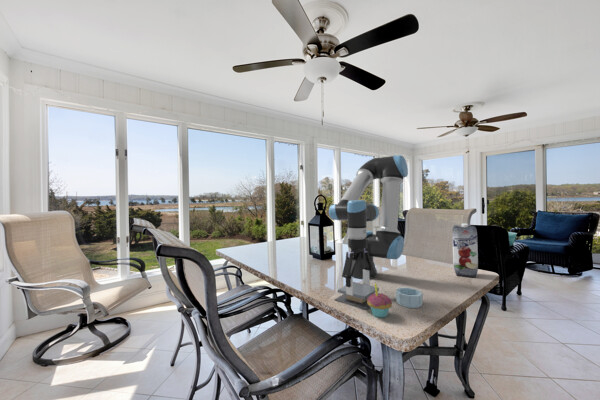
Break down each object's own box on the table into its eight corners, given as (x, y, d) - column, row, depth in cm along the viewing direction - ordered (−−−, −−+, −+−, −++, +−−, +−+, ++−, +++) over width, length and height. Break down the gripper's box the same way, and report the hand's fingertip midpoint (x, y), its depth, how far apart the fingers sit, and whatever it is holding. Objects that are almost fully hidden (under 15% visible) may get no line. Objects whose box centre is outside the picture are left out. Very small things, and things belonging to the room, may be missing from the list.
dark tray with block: (334, 300, 102) (334, 292, 102) (352, 290, 113) (352, 283, 112) (366, 309, 93) (365, 301, 93) (382, 298, 103) (382, 290, 103)
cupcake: (382, 322, 83) (381, 286, 83) (362, 313, 90) (361, 280, 90) (397, 315, 88) (396, 281, 88) (377, 307, 95) (376, 275, 95)
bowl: (393, 303, 98) (392, 292, 97) (401, 296, 104) (401, 286, 104) (417, 310, 91) (417, 298, 91) (425, 302, 98) (424, 291, 98)
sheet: (337, 292, 102) (337, 289, 102) (353, 284, 111) (353, 281, 111) (364, 299, 94) (364, 296, 94) (378, 290, 103) (378, 287, 103)
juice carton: (452, 271, 137) (451, 222, 137) (476, 273, 132) (475, 222, 132) (454, 276, 129) (453, 223, 129) (478, 278, 125) (477, 224, 124)
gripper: (349, 243, 91) (350, 301, 91) (379, 234, 109) (380, 283, 109) (332, 241, 96) (333, 296, 96) (363, 233, 114) (364, 280, 114)
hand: (358, 289), depth 103 cm, fingers open, 13 cm apart
